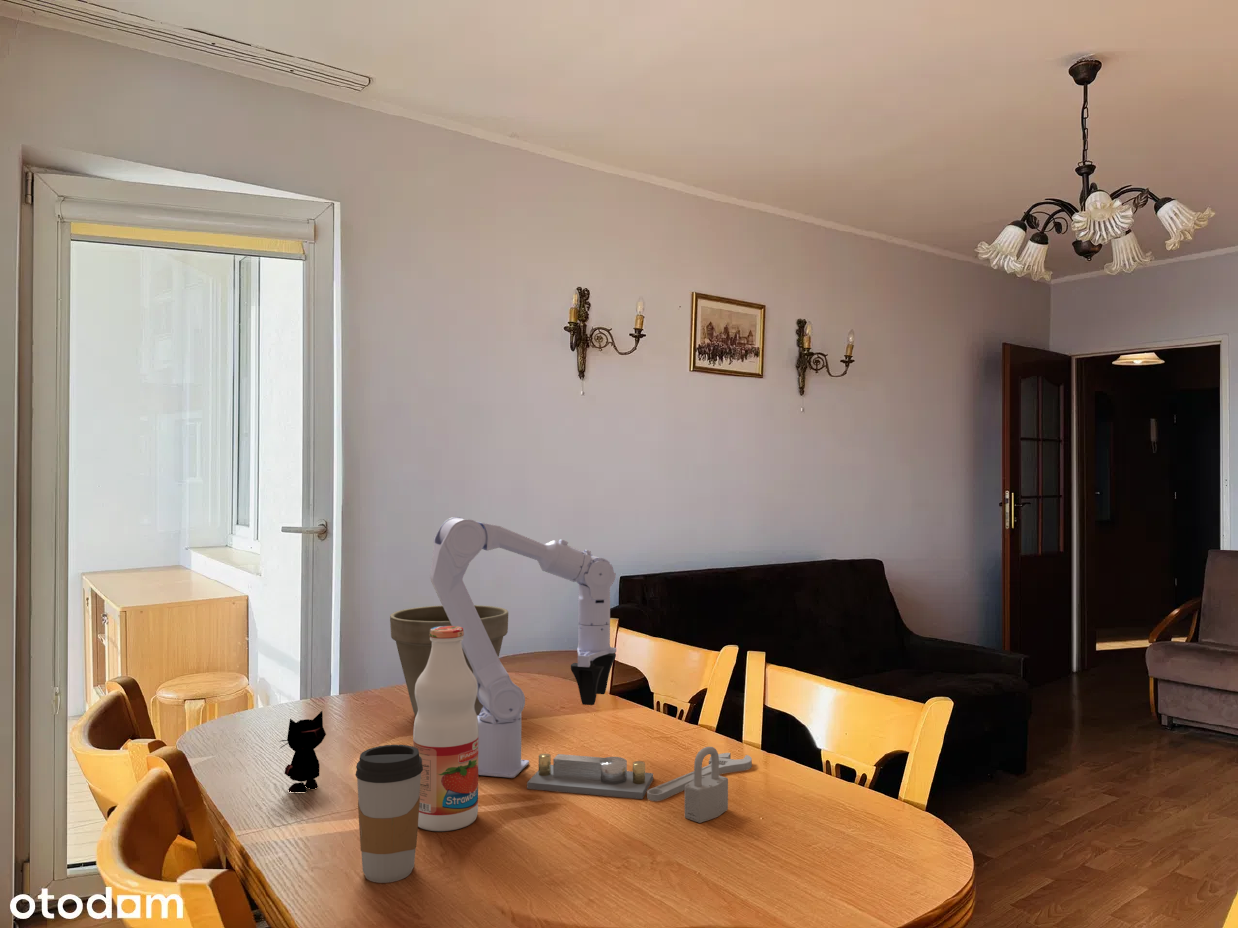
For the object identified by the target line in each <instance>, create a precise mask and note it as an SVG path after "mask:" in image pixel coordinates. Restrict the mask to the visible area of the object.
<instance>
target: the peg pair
mask: <svg viewBox="0 0 1238 928" xmlns="http://www.w3.org/2000/svg"><path fill="white" fill-rule="evenodd" d="M551 758H552V756H551V754H550V753H540V754H539V755H538V770H539V775H541V776H548V775H550V774H551V765H552V764H551V762H552V760H551ZM632 772H633V783H635V784H643V783H645V773H646V763H645V762H644V761H641V760H637V761H633V762H632Z"/></svg>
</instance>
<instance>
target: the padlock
mask: <svg viewBox="0 0 1238 928" xmlns="http://www.w3.org/2000/svg"><path fill="white" fill-rule="evenodd" d="M718 754H719V753H718V751H717V749H716V748H715V747H713V746H705V747H703V748H701V749H700V750H699V751H698V752H697V753H696V756H695V758H694V767H693V769H694V770H693V771H694V780H693V781H691V782H690V783H688V784H686V785H685V790H684V818H685V819H688V820H690V821H693V822H697V823H699V824H701V823H703V822H706V821H709V820H710V821H711V820H713V819H715V818H716V819H717V818H718V817H719V816H721V815H722V814H723V813H725V812H726V811H728V810H729V778H728V777H726V776H722V775H721V774H720V775H719V756H718ZM708 755H710V757H711V774H710V775H707V776H702V768H703V761H704V759H705V758H706V756H708Z"/></svg>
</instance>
